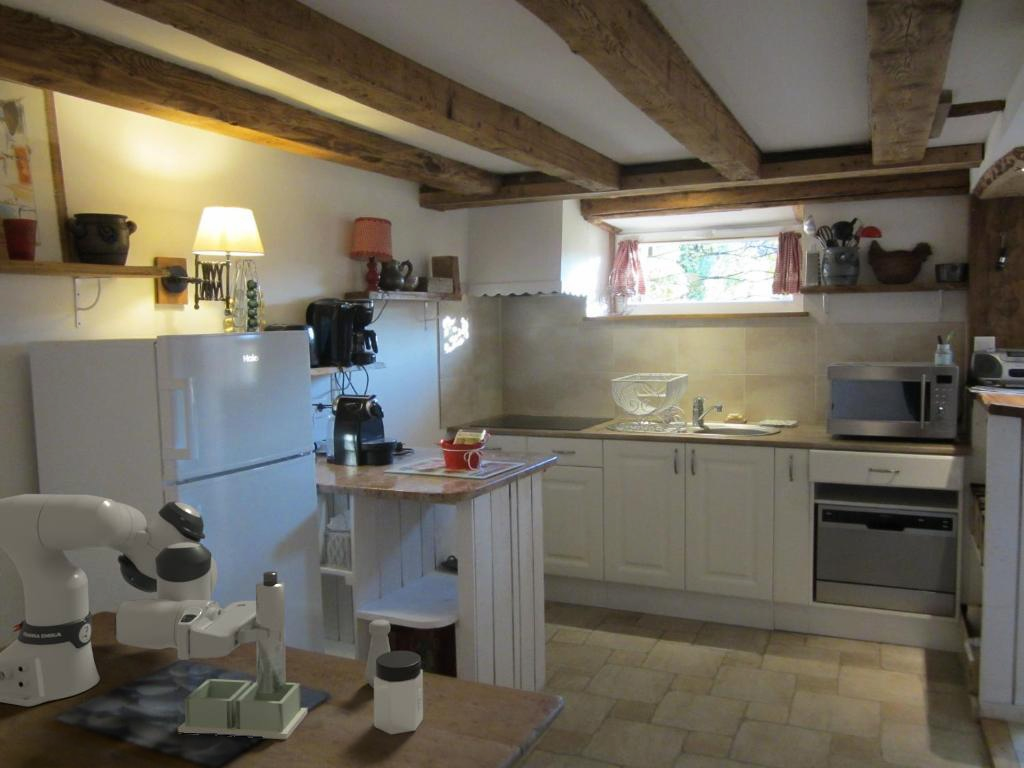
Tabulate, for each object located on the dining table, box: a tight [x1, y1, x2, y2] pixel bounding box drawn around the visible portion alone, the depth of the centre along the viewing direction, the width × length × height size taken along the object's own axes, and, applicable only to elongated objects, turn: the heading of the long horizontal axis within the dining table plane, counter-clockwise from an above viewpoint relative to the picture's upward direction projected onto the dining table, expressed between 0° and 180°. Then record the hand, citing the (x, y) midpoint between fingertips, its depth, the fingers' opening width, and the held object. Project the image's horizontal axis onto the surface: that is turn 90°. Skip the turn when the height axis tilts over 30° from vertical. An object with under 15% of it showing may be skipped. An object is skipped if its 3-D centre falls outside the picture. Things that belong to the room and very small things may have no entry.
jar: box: [373, 650, 424, 735], centre depth 146 cm, size 9×8×12 cm
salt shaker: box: [364, 619, 391, 689], centre depth 163 cm, size 6×6×13 cm
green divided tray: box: [177, 678, 308, 740], centre depth 146 cm, size 20×10×6 cm, turn 84°
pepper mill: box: [255, 570, 287, 694], centre depth 145 cm, size 5×5×21 cm
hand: (275, 628), depth 145 cm, fingers closed on pepper mill, 5 cm apart
